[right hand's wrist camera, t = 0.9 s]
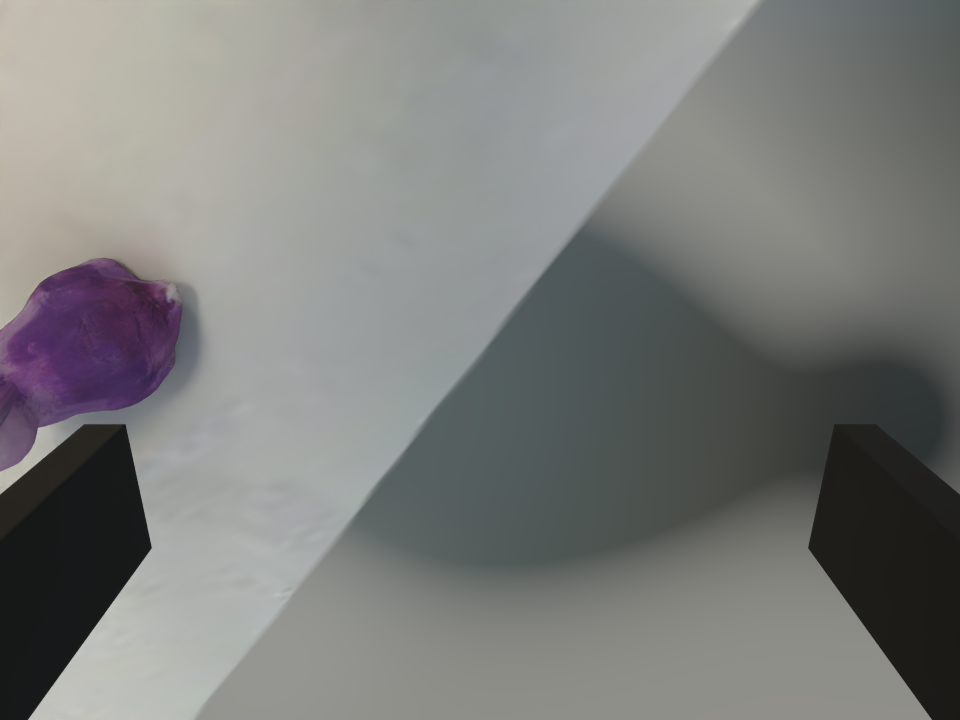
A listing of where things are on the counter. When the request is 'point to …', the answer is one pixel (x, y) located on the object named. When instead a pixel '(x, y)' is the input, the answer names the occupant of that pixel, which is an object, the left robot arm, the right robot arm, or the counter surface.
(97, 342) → the figurine
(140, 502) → the right robot arm
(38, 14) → the counter surface
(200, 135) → the counter surface
